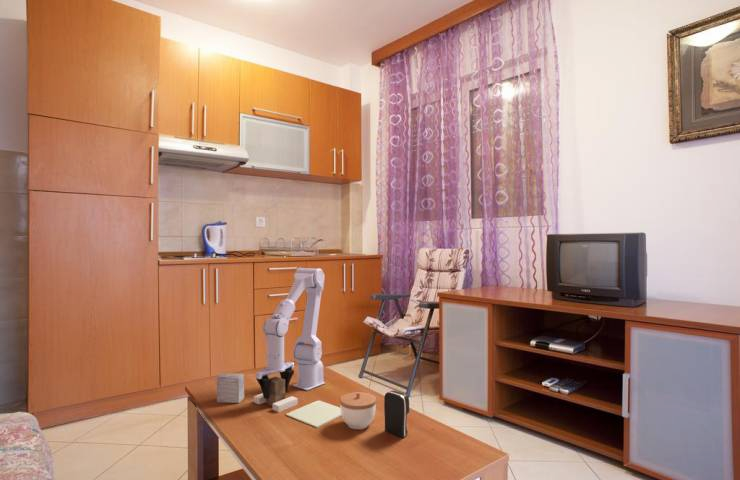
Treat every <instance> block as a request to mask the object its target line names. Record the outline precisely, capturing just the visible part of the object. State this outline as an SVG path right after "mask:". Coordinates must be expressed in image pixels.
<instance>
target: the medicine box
mask: <svg viewBox="0 0 740 480" xmlns="http://www.w3.org/2000/svg"><path fill="white" fill-rule="evenodd" d="M244 399H245V375H244V373H230V372H229V373H221V374H219V375H217V377H216V403H230V404H240V403H241V402H242V401H243V400H244Z"/></svg>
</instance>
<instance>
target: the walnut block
mask: <svg viewBox="0 0 740 480" xmlns="http://www.w3.org/2000/svg"><path fill="white" fill-rule="evenodd" d="M269 378H270V379H272V380H271V384H270V396H269V399H266V402H265V404H267V405H269V406H272V407H273V403H276V402H278V401H281V400H283V399H286V392H285V379H282V378H281V377H278V376H273V377H269Z"/></svg>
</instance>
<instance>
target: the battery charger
mask: <svg viewBox="0 0 740 480" xmlns="http://www.w3.org/2000/svg"><path fill="white" fill-rule="evenodd" d="M383 397H384V400H383V407H384V408H383V413H384V431H385V432H387V433H389V434H391V435H393V436H397V437H399V438H405V437H406V436H407V435H408V430H407V419H408V418H407V417H408V414H409V413H410V397H409V396H408V394H406V393H404V392H401V391H396V390H390V391H388V392H386V393H385V394H384V396H383Z"/></svg>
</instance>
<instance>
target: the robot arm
mask: <svg viewBox="0 0 740 480" xmlns="http://www.w3.org/2000/svg"><path fill="white" fill-rule="evenodd" d="M325 277H326V276H325V273H324V272H323V269H322V268H320V267H319V268H314V267H313V268H310V267H309V268H305V267H298V268H297V269H296V271H295V273H294V275H293V280H294V281H293V283H292V285H291V288H290V289H289V292H288V293H287V296H286V298H285V299H282V300H281V301H280V302H279V304H278V306H277V307H276V309H275V310H274V312H273V314H272V315H271V316H270V317H269V318H267V319H266V320H265V321H264V323H263V327H262V332H263V334H264V336H265V337H264V339H265V341H266V367H264V368H262V369H259V370H258V371H255V378H256V381H257V383H258V384H259V386H260V389H261V392H262V393H263V397H264V398H266V399H269V396H270V384H271V380H272V379H270V378H271V377H269V376H271V375H274V374H275V375H276V374H277V373H279V374H280V375H279V376H280V378H282V379H285V393H287V392H288V390H289V386H290V383H291V379H292V377H293V376H294V373H295V370H294V369H295V362H296V363H297V382H296V383H293V384H292V386H293V387H295V388H297V389H301V390H305V391H310V390H312V389H314V388H318V387H320V386H323V385H325V384H326V382H325V381H324V364H323V362H322V361H321V358H322V356H323V350H322V344H323V343H322V341H321V340H320V339H319V338H318V337H317V331H318V323H319V315H320V306H321V300H322V292H323V291H324V285H325V279H326V278H325ZM304 291H305V292H306V294H307V296H306V304H305V310H304V317H303V325H302V332H301V335H300V336H299V337H297V338H296V339H295V344H294V346H293V349H292V357H293V358H294V360H295V362H293V361H288V362H285V335H286V333H288V330H289V324H290V319H291V318H292V316H293V314H294V312H295V310H296V305H295V304H296V302H297V301H298V300H299V298H300V297H301V295H302V293H303V292H304ZM262 393H261V394H262Z"/></svg>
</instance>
